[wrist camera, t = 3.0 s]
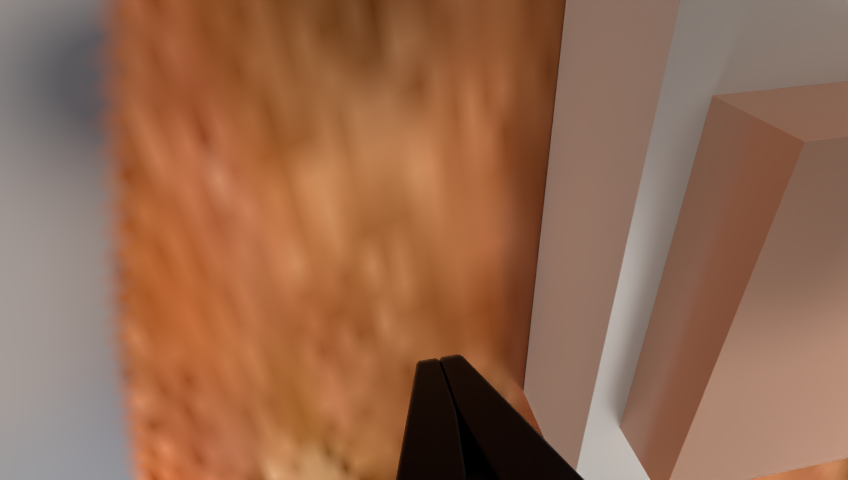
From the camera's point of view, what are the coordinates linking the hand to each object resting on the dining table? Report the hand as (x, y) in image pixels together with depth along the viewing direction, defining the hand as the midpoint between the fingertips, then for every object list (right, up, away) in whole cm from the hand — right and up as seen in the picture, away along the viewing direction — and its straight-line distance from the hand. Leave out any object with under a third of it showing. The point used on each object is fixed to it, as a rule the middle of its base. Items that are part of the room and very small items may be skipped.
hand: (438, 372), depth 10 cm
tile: (+8, +2, +2) cm, 8 cm away
